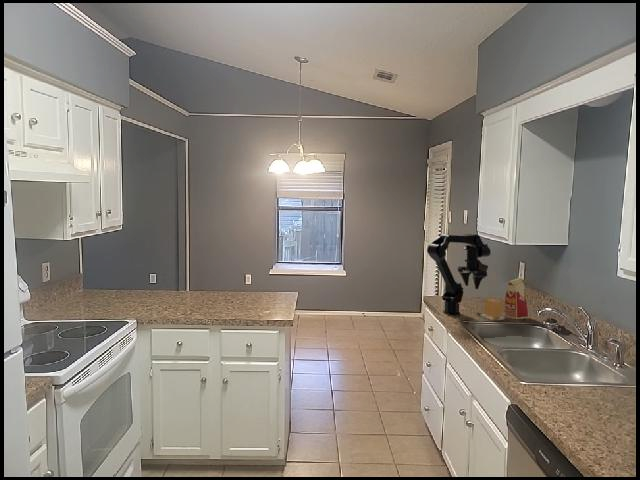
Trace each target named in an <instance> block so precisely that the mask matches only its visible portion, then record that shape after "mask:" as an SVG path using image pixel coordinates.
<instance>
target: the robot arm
mask: <svg viewBox="0 0 640 480" xmlns="http://www.w3.org/2000/svg"><path fill="white" fill-rule="evenodd" d="M450 243H456V244H457V243H458V244H459V243H461V244H465V247H463V250H466V259H464V262H466V265H462V266H460V265H459V266H458V267H457V272H459V275H460V276H461V278H462V280H463V283H464V285H465V286H466V287H468V286H469V281H470V275H471V274H472V279H473V284H474V288H475V290H478V289H479V287H480V284H481V282H482V280H483V279H484V278H486V277H488V269H489V265H487V264H485V263H482V262H481V260H480V259H479V258H487V257H489V256H490V255H491V248H490V247H489V246H488V243H484V242H483V240H482V239H481V237H480V234H474V233H473V234H472V233H467V234H466V233H464V234H463V235H458V234H445V233H443V234H441V235H440V236H439V237H438V238H436V239H434V240H433V241H432V242H431V243H430V244H428V246H427V249H426V252H427V254H428V255H429V257H430V258H431V259H432V260H433V261H434V262H435V264H436V265H437V268H438V270H439V272H440V275H441V277H442V279H443V281H444V283H445V287H444V290H445V291H444V293H443V294H442V296H441V298H442V301H444V310H442V313H444V314H447V315H460V314H461V312H460V304H459V303H462V299H463V296H464V288H463V287H462V283H461V282H458V281H456V280H455V278H454V276H453V274H452V271H451V269H450V267H449V264H448V261H447V260H446V253H447V252H446V251H447V250H448V248H449V244H450Z"/></svg>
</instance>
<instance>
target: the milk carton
mask: <svg viewBox="0 0 640 480" xmlns="http://www.w3.org/2000/svg"><path fill="white" fill-rule="evenodd" d="M506 286H507V287H506V292H505V296H504V298H505V299H504V304H503V305H504V306H503V316H504V317H507V318H509V319H512V320H513V319H514V320H521V319H522V320H523V319H524V318H525V319H529V318H530V317H529V316H530V315H529V306H528V298H527V293H526V289H525V288H526V287H525V284H524V281H523V280H522V276H519V277H518V278H515V279H512V280H509V283H508V284H507V285H506ZM525 319H524V320H525Z"/></svg>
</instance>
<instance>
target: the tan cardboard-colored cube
mask: <svg viewBox="0 0 640 480" xmlns="http://www.w3.org/2000/svg"><path fill="white" fill-rule="evenodd" d="M483 302H484V309H483V314H484V315H487V316H489V317H499V316H502V300H500V299H496V298H489V299H484V301H483Z"/></svg>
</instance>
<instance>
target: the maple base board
mask: <svg viewBox="0 0 640 480" xmlns="http://www.w3.org/2000/svg"><path fill="white" fill-rule="evenodd" d="M480 317H481V318H484V319H487V320H490V321H493V322H494V321H501V320H503V321H505V319H506V318H505V317H506V316H504V315H501V316H499V317H489V316H487V315H484V313H480Z"/></svg>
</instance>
